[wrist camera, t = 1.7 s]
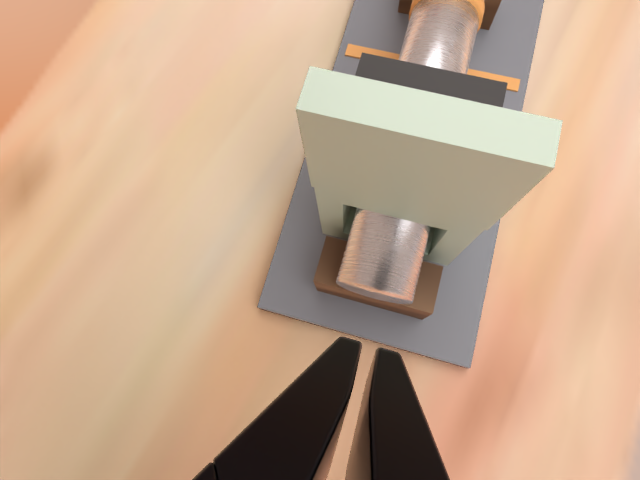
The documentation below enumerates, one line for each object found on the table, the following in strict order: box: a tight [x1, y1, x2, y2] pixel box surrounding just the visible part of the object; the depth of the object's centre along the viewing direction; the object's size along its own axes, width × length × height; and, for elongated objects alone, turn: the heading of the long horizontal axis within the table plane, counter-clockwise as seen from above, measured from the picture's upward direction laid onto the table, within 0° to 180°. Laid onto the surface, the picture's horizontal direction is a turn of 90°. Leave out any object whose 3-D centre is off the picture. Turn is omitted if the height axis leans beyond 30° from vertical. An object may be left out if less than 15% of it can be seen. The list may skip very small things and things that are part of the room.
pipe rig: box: [257, 0, 544, 368], centre depth 21 cm, size 21×10×6 cm, turn 164°
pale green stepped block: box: [296, 66, 562, 266], centre depth 16 cm, size 4×6×11 cm, turn 74°
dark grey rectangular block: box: [355, 52, 508, 108], centre depth 19 cm, size 1×5×5 cm, turn 74°
